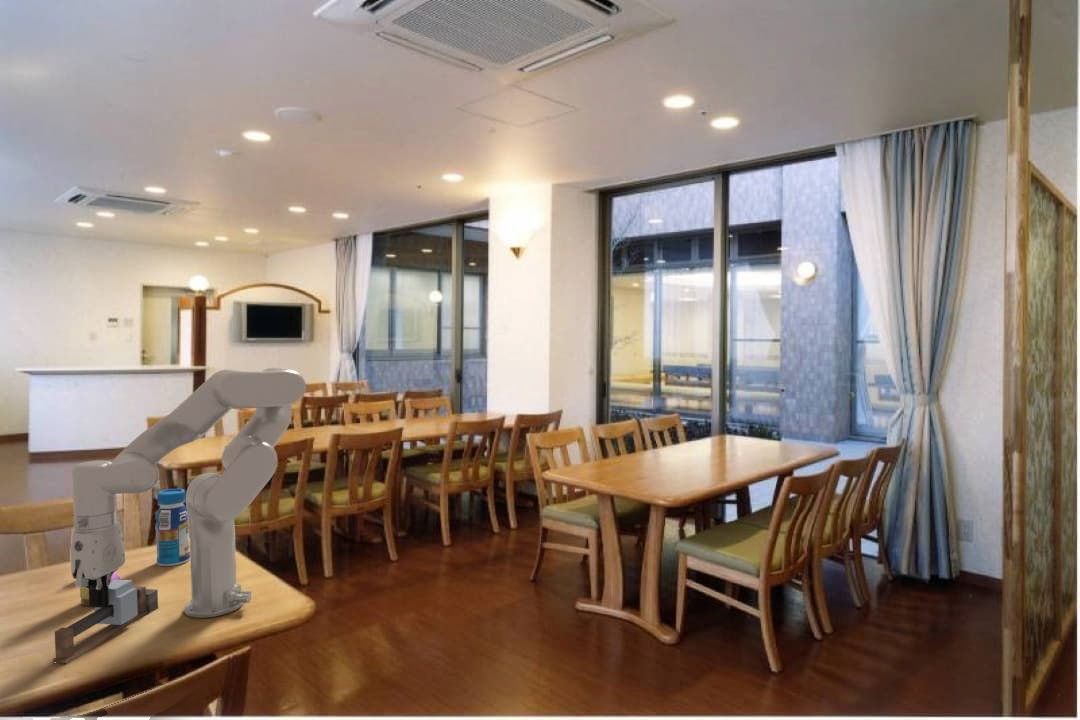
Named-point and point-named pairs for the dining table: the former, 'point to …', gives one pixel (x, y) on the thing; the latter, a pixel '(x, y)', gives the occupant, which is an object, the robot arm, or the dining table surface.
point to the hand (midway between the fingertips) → (99, 605)
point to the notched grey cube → (121, 602)
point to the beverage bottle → (172, 528)
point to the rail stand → (65, 636)
